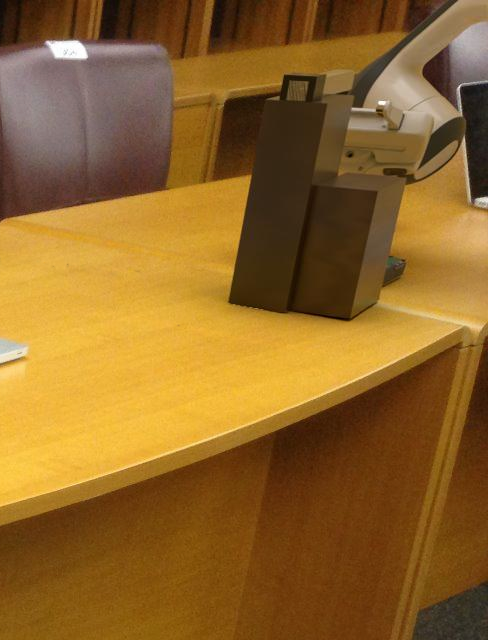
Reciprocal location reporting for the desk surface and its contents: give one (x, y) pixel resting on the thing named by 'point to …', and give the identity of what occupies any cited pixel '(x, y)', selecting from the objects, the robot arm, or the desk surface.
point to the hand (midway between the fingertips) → (345, 103)
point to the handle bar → (315, 85)
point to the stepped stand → (312, 216)
